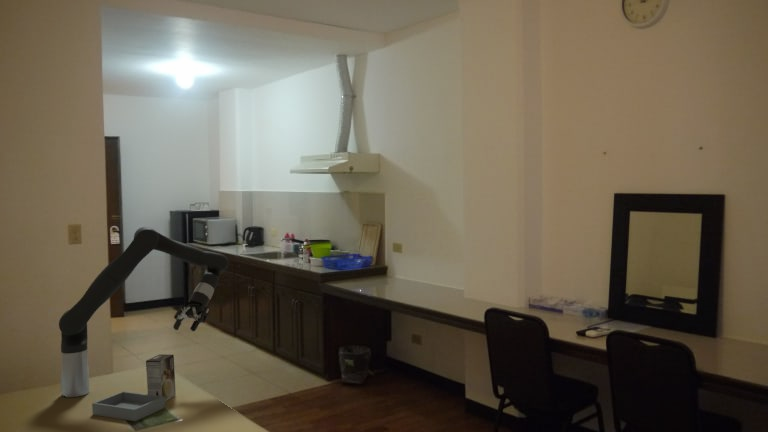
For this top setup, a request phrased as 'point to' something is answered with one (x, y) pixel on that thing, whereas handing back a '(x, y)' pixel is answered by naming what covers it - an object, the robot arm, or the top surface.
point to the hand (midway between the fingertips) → (183, 329)
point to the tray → (128, 405)
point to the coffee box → (161, 376)
